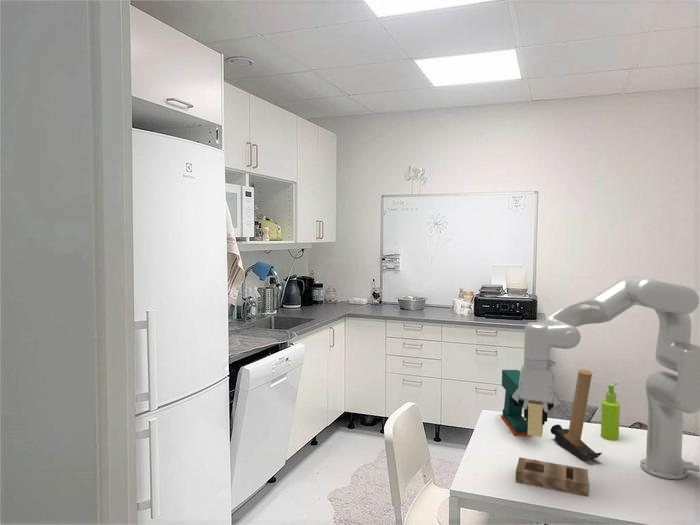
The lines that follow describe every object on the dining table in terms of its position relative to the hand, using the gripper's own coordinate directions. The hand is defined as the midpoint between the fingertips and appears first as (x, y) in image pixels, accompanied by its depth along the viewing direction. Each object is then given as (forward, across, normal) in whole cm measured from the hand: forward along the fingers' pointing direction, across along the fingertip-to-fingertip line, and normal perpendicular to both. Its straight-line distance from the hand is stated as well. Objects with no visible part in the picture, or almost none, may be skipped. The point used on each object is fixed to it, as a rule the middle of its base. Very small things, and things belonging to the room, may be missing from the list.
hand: (535, 421), depth 155 cm
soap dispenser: (+18, -23, -44) cm, 53 cm away
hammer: (+18, -11, -26) cm, 34 cm away
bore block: (+18, -5, 0) cm, 19 cm away
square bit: (+4, 0, 0) cm, 4 cm away
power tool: (+18, +7, -34) cm, 39 cm away
